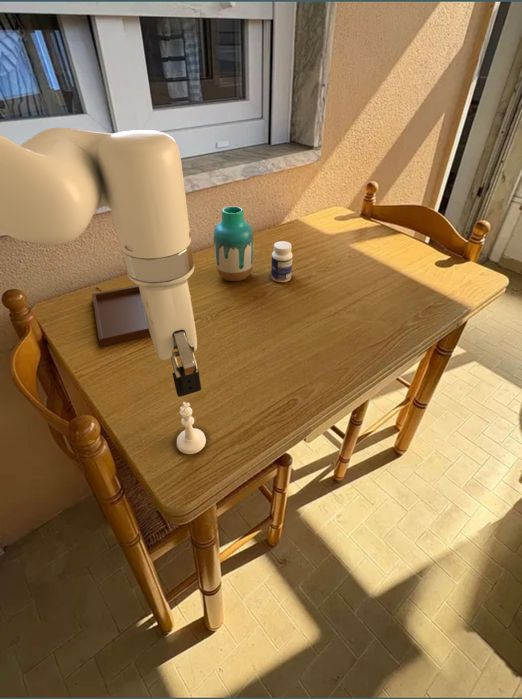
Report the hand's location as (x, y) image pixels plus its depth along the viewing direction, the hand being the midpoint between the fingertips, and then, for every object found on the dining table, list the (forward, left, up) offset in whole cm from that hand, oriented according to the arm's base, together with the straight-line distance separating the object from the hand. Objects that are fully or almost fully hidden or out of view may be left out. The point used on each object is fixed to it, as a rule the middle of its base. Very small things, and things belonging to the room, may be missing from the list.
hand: (180, 369), depth 54 cm
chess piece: (0, 0, -17) cm, 17 cm away
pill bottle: (+38, +44, -17) cm, 61 cm away
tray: (-5, +42, -17) cm, 45 cm away
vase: (+26, +49, -17) cm, 58 cm away
